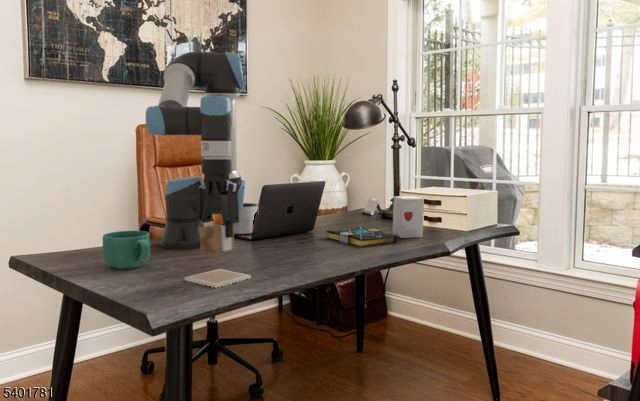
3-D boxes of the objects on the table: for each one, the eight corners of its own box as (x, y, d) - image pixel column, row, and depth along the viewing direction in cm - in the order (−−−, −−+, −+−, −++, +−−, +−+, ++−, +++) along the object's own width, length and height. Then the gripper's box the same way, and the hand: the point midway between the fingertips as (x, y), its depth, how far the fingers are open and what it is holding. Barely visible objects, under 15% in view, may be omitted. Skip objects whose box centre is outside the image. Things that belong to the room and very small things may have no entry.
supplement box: (400, 238, 200) (401, 198, 198) (392, 234, 208) (392, 196, 207) (423, 237, 202) (424, 198, 200) (413, 233, 210) (414, 195, 209)
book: (398, 244, 191) (398, 230, 190) (361, 249, 181) (361, 234, 181) (360, 235, 209) (360, 222, 208) (325, 239, 199) (325, 226, 199)
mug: (96, 266, 153) (95, 233, 152) (138, 259, 161) (137, 228, 160) (121, 277, 141) (120, 241, 140) (165, 269, 150) (164, 235, 149)
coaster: (184, 280, 138) (184, 277, 138) (220, 271, 147) (219, 268, 147) (216, 288, 130) (216, 284, 130) (251, 278, 140) (251, 275, 140)
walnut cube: (200, 250, 137) (200, 227, 136) (218, 246, 142) (218, 224, 141) (216, 253, 133) (215, 229, 133) (234, 249, 138) (233, 226, 138)
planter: (222, 231, 212) (221, 203, 211) (252, 229, 218) (252, 202, 217) (231, 236, 201) (231, 207, 200) (263, 234, 207) (263, 205, 206)
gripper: (180, 157, 138) (182, 246, 140) (231, 159, 127) (232, 255, 129) (203, 157, 144) (204, 242, 146) (253, 158, 133) (254, 250, 135)
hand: (217, 248), depth 138 cm, fingers closed on walnut cube, 6 cm apart
